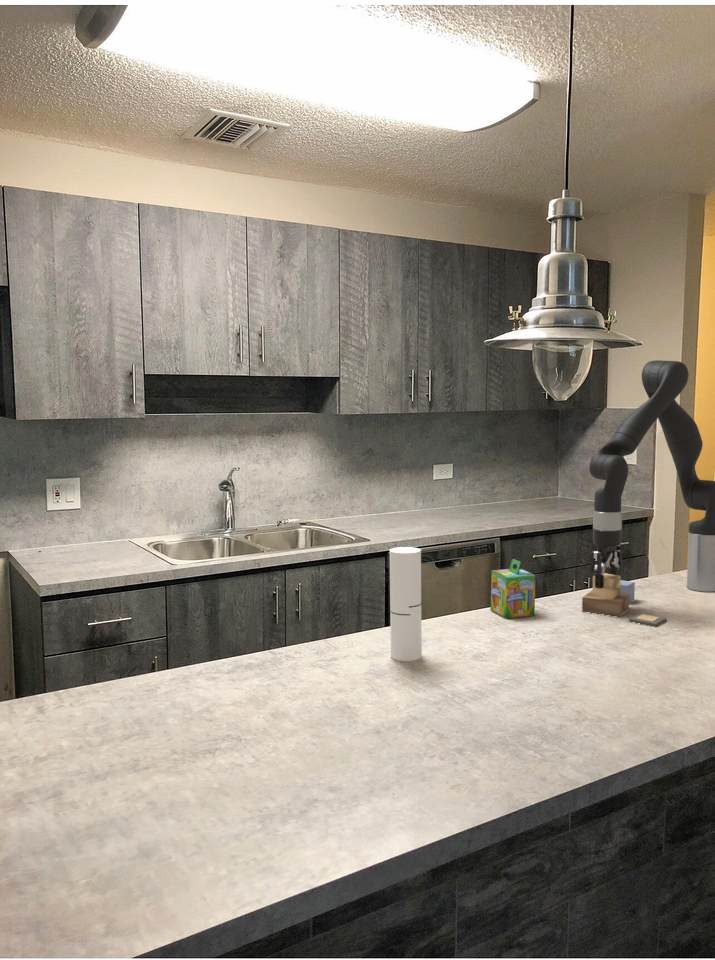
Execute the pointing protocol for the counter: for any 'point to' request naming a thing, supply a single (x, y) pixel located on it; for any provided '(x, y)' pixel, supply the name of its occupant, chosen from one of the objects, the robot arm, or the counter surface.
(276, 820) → the counter surface
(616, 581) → the oak block
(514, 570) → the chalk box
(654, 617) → the tile
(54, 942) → the counter surface
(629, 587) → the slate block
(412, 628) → the cylindrical container
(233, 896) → the counter surface
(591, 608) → the base block
